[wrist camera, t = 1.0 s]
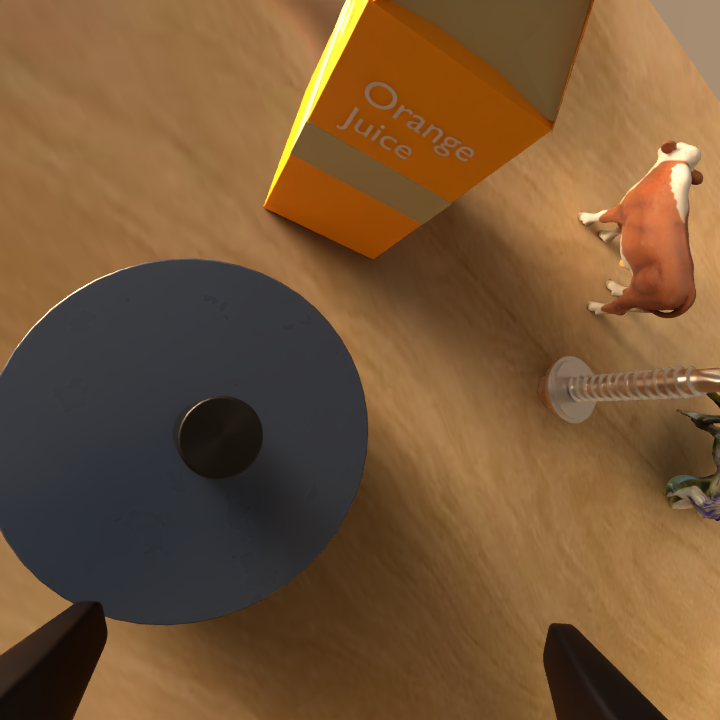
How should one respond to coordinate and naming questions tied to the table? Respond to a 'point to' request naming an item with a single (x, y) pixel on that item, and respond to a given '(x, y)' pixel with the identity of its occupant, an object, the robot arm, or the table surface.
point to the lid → (178, 441)
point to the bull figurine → (654, 237)
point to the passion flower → (705, 494)
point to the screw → (617, 386)
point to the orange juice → (421, 110)
